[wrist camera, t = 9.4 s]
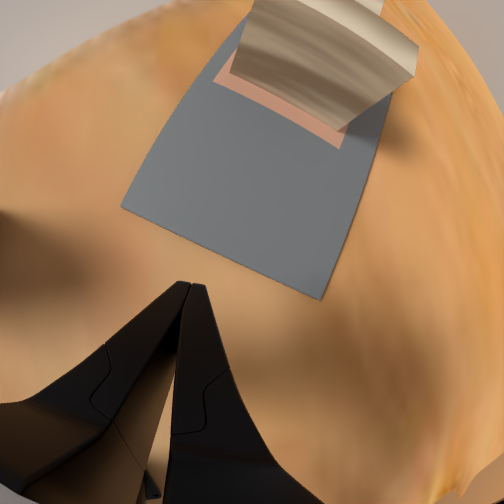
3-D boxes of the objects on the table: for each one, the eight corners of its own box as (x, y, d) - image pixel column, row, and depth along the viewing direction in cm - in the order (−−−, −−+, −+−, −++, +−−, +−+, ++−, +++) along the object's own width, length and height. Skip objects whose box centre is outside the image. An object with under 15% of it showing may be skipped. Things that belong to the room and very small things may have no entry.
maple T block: (336, 131, 23) (414, 76, 13) (229, 72, 21) (260, -16, 11) (361, 66, 24) (422, 12, 14) (271, 15, 22) (309, -57, 12)
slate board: (316, 299, 23) (319, 300, 22) (121, 207, 20) (119, 206, 19) (392, 81, 25) (395, 79, 25) (259, 3, 22) (260, -1, 21)
